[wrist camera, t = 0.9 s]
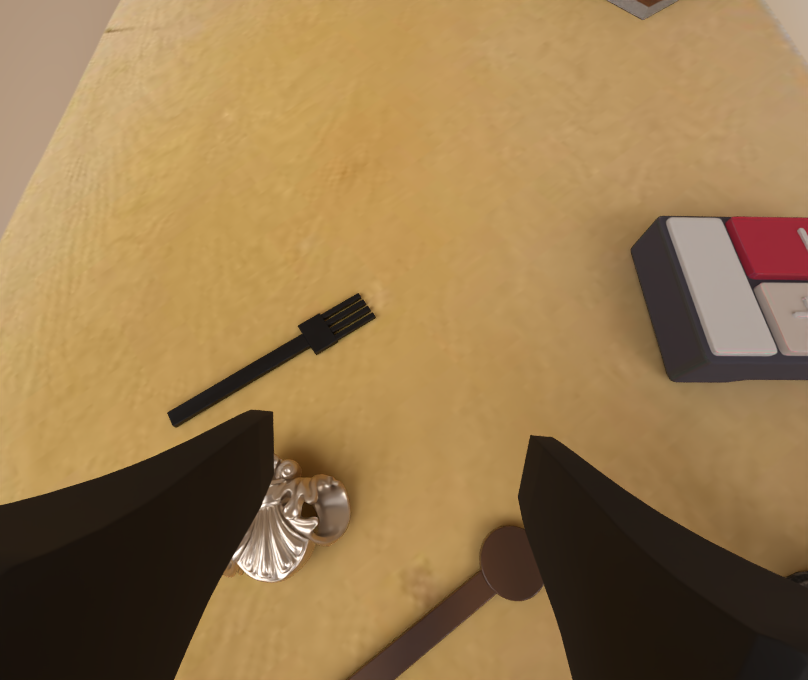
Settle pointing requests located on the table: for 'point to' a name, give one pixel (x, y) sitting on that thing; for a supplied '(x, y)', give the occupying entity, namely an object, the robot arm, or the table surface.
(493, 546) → the brown disc-ended stick
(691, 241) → the calculator
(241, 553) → the ornament
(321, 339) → the black fork
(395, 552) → the table surface
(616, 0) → the spiral staircase model
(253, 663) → the table surface
